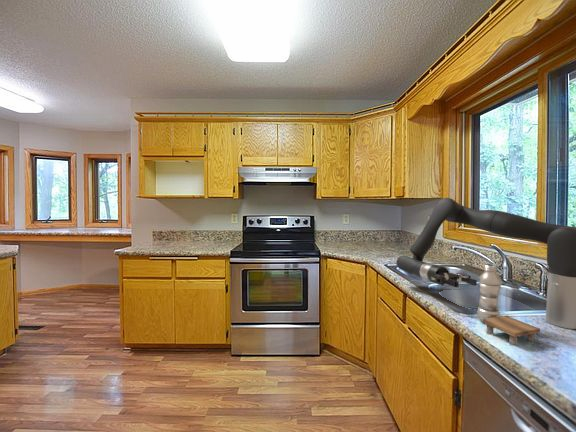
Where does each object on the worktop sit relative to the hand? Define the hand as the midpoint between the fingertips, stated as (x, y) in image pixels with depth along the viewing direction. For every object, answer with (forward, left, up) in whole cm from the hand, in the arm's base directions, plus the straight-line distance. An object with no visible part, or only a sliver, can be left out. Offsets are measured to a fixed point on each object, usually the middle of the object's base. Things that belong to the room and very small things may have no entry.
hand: (467, 283), depth 108 cm
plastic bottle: (0, +9, -11) cm, 14 cm away
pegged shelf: (+4, +19, -11) cm, 22 cm away
